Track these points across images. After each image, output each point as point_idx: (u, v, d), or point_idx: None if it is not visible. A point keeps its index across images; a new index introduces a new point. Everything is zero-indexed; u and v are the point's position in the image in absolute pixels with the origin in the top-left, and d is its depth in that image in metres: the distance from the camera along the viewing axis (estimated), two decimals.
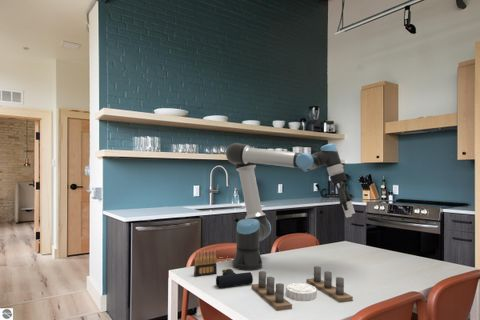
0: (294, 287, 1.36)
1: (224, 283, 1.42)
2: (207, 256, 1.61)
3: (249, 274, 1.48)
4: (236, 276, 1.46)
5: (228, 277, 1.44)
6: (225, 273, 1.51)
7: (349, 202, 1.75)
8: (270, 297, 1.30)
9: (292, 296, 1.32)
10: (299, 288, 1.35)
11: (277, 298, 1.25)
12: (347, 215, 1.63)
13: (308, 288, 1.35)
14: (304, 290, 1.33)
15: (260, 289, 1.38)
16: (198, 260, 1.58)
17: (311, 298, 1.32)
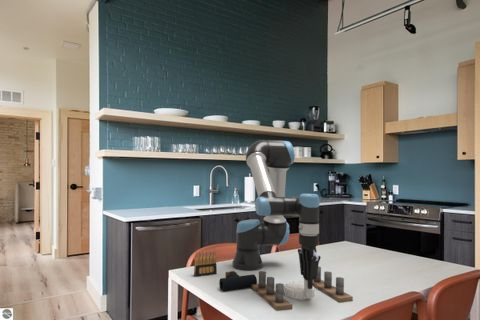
0: (292, 286, 1.37)
1: (228, 286, 1.39)
2: (207, 256, 1.61)
3: (253, 276, 1.45)
4: (240, 279, 1.42)
5: (232, 280, 1.41)
6: (228, 275, 1.48)
7: None
8: (270, 297, 1.30)
9: (290, 294, 1.34)
10: (297, 287, 1.36)
11: (277, 298, 1.25)
12: None
13: None
14: (302, 289, 1.34)
15: (260, 289, 1.38)
16: (198, 260, 1.58)
17: None
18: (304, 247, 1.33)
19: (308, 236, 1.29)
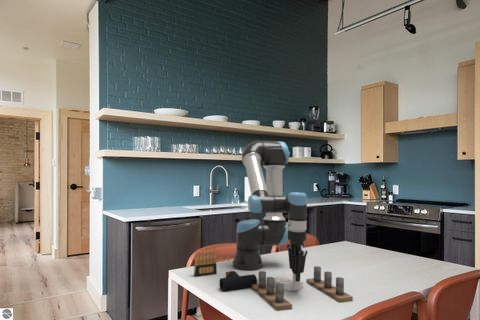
0: (281, 278, 1.46)
1: (228, 286, 1.39)
2: (207, 256, 1.61)
3: (253, 276, 1.45)
4: (240, 278, 1.42)
5: (232, 280, 1.41)
6: (229, 275, 1.48)
7: None
8: (270, 297, 1.30)
9: None
10: (286, 279, 1.45)
11: (277, 298, 1.25)
12: None
13: None
14: (290, 281, 1.43)
15: (260, 289, 1.38)
16: (198, 260, 1.58)
17: None
18: (293, 242, 1.42)
19: (296, 232, 1.38)
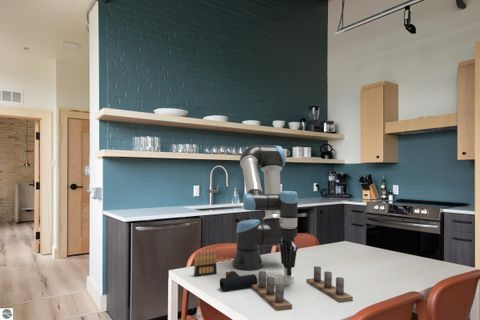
0: (274, 273, 1.53)
1: (228, 286, 1.39)
2: (207, 256, 1.61)
3: (253, 276, 1.45)
4: (240, 278, 1.42)
5: (232, 280, 1.41)
6: (229, 275, 1.48)
7: None
8: (270, 297, 1.30)
9: None
10: (278, 274, 1.52)
11: (277, 298, 1.25)
12: None
13: None
14: (282, 275, 1.50)
15: (260, 289, 1.38)
16: (198, 260, 1.58)
17: None
18: (284, 239, 1.49)
19: (287, 229, 1.45)
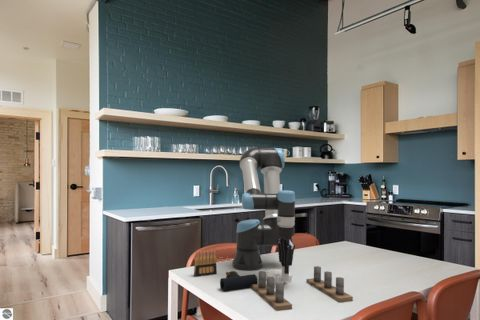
0: (272, 272, 1.56)
1: (229, 286, 1.39)
2: (207, 256, 1.61)
3: (254, 276, 1.45)
4: (241, 278, 1.43)
5: (233, 279, 1.41)
6: (229, 275, 1.48)
7: None
8: (270, 297, 1.30)
9: None
10: (276, 273, 1.54)
11: (277, 298, 1.25)
12: None
13: None
14: (280, 274, 1.52)
15: (260, 289, 1.38)
16: (198, 260, 1.58)
17: (286, 281, 1.51)
18: (282, 237, 1.51)
19: (285, 227, 1.47)
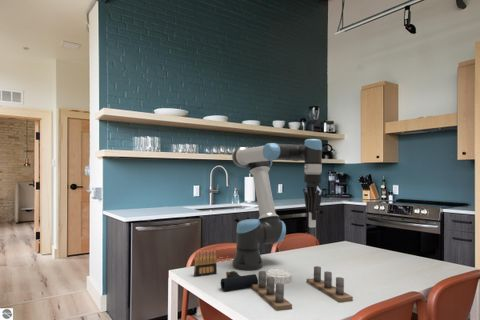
0: (272, 272, 1.56)
1: (229, 286, 1.39)
2: (207, 256, 1.61)
3: (254, 276, 1.45)
4: (241, 278, 1.43)
5: (233, 280, 1.41)
6: (229, 275, 1.48)
7: None
8: (270, 297, 1.30)
9: None
10: (276, 273, 1.54)
11: (277, 298, 1.25)
12: None
13: (284, 273, 1.55)
14: (280, 274, 1.52)
15: (260, 289, 1.38)
16: (198, 260, 1.58)
17: (285, 281, 1.51)
18: (309, 185, 1.54)
19: (312, 174, 1.50)
